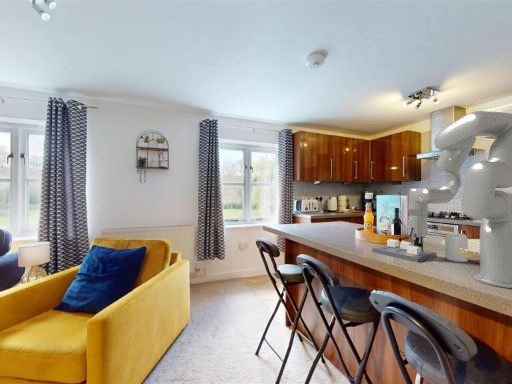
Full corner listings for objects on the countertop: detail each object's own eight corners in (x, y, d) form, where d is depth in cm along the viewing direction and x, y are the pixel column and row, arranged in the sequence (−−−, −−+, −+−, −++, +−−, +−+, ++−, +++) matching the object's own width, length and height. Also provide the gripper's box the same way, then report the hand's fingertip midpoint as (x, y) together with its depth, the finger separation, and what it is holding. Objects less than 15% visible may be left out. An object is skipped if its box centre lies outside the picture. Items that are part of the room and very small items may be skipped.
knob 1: (399, 246, 130) (399, 239, 130) (395, 247, 128) (395, 240, 128) (391, 245, 134) (391, 238, 134) (387, 245, 132) (387, 239, 132)
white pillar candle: (459, 263, 106) (459, 236, 106) (440, 258, 114) (440, 233, 114) (472, 262, 109) (472, 235, 109) (453, 257, 116) (453, 232, 116)
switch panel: (436, 256, 118) (436, 251, 118) (417, 262, 109) (417, 257, 109) (391, 247, 137) (391, 243, 137) (372, 252, 128) (372, 247, 128)
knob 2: (413, 249, 124) (413, 242, 124) (409, 250, 122) (409, 243, 122) (404, 247, 128) (404, 240, 128) (400, 248, 126) (400, 241, 126)
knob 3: (421, 254, 114) (421, 246, 114) (417, 255, 112) (416, 247, 112) (411, 252, 118) (411, 244, 118) (407, 253, 116) (407, 245, 116)
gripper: (417, 212, 124) (418, 247, 124) (401, 213, 116) (402, 251, 117) (434, 213, 118) (434, 250, 118) (418, 214, 110) (419, 254, 110)
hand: (418, 250), depth 117 cm, fingers closed
